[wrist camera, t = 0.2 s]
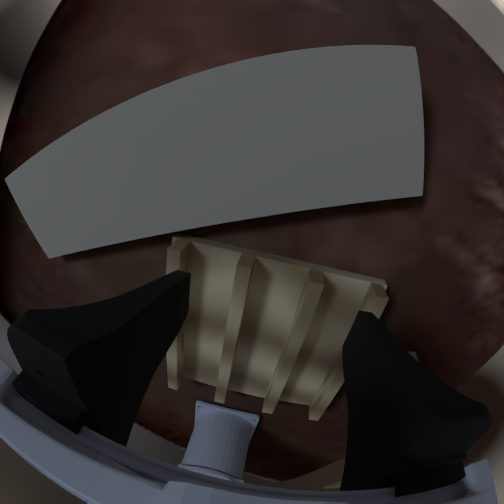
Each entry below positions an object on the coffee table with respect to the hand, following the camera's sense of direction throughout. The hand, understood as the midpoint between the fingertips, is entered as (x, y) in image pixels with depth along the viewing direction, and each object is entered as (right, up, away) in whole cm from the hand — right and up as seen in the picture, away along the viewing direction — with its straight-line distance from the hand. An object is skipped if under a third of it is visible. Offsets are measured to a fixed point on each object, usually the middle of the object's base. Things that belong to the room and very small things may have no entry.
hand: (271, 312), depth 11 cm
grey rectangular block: (-6, +10, +9) cm, 15 cm away
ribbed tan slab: (0, -5, +13) cm, 14 cm away
